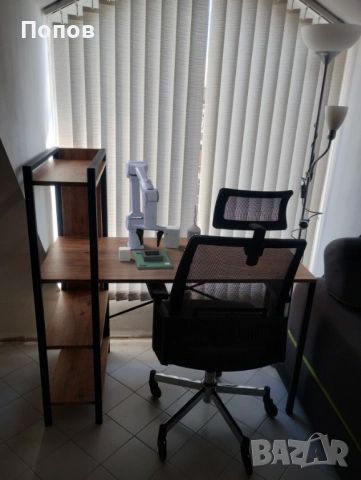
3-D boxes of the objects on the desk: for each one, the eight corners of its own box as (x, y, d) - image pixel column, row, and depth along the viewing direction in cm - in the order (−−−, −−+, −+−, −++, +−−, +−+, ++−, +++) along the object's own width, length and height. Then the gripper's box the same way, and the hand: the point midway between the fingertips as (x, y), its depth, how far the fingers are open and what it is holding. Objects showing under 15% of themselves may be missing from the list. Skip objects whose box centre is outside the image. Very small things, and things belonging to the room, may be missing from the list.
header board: (133, 252, 196) (133, 246, 195) (164, 251, 200) (165, 245, 199) (137, 269, 178) (137, 262, 177) (172, 267, 181) (172, 260, 180)
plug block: (118, 257, 189) (118, 247, 187) (129, 257, 190) (129, 246, 188) (119, 261, 185) (119, 250, 184) (130, 260, 187) (130, 250, 185)
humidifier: (185, 249, 205) (189, 202, 197) (201, 250, 204) (205, 204, 196) (183, 254, 198) (186, 206, 189) (199, 256, 197) (203, 208, 188)
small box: (179, 245, 210) (180, 226, 207) (178, 248, 205) (179, 229, 202) (164, 243, 211) (165, 224, 208) (163, 247, 206) (163, 228, 202)
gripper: (131, 217, 173) (132, 246, 177) (163, 219, 171) (163, 249, 174) (136, 214, 180) (136, 242, 184) (167, 216, 177) (167, 245, 181)
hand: (150, 245), depth 179 cm, fingers open, 7 cm apart
